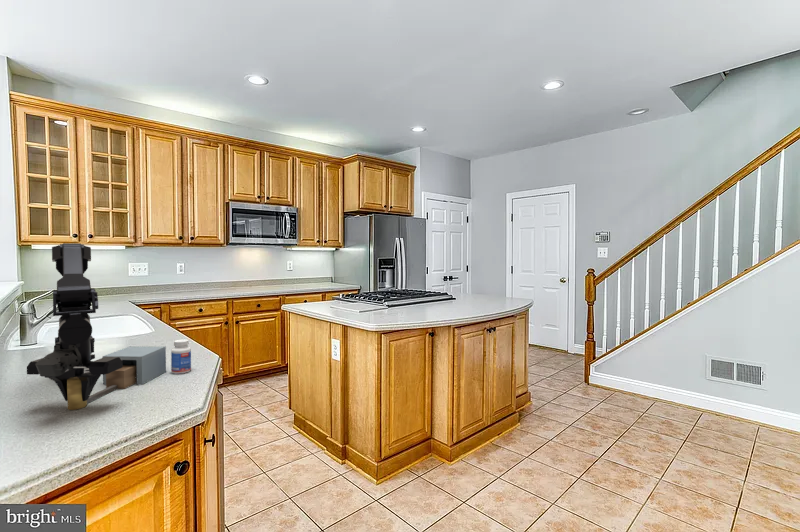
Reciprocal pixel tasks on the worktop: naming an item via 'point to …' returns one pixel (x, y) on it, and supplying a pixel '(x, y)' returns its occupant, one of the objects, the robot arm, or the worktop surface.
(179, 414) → the worktop surface
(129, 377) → the block
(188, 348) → the pill bottle
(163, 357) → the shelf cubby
